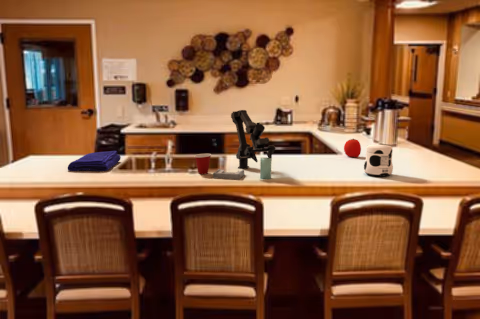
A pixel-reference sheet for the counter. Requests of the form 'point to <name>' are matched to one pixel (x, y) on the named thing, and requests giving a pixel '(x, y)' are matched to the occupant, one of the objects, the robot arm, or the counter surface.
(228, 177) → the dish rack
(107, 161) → the towel
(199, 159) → the plastic cup
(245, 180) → the counter surface
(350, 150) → the tomato
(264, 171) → the pale green upright block
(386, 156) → the milk container
